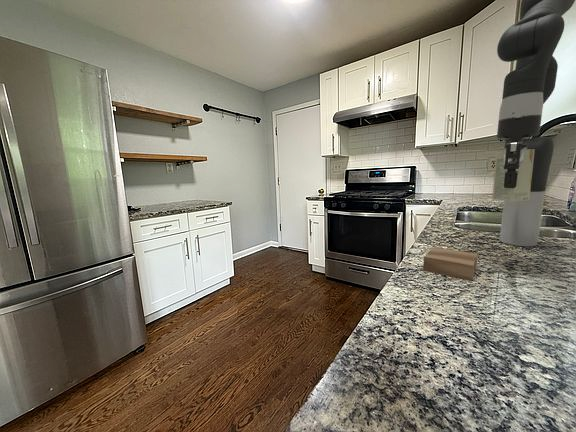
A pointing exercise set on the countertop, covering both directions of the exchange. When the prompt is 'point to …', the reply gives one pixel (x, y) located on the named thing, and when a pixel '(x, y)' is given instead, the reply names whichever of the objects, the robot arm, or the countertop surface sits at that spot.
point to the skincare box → (523, 178)
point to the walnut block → (451, 263)
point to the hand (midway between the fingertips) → (510, 186)
